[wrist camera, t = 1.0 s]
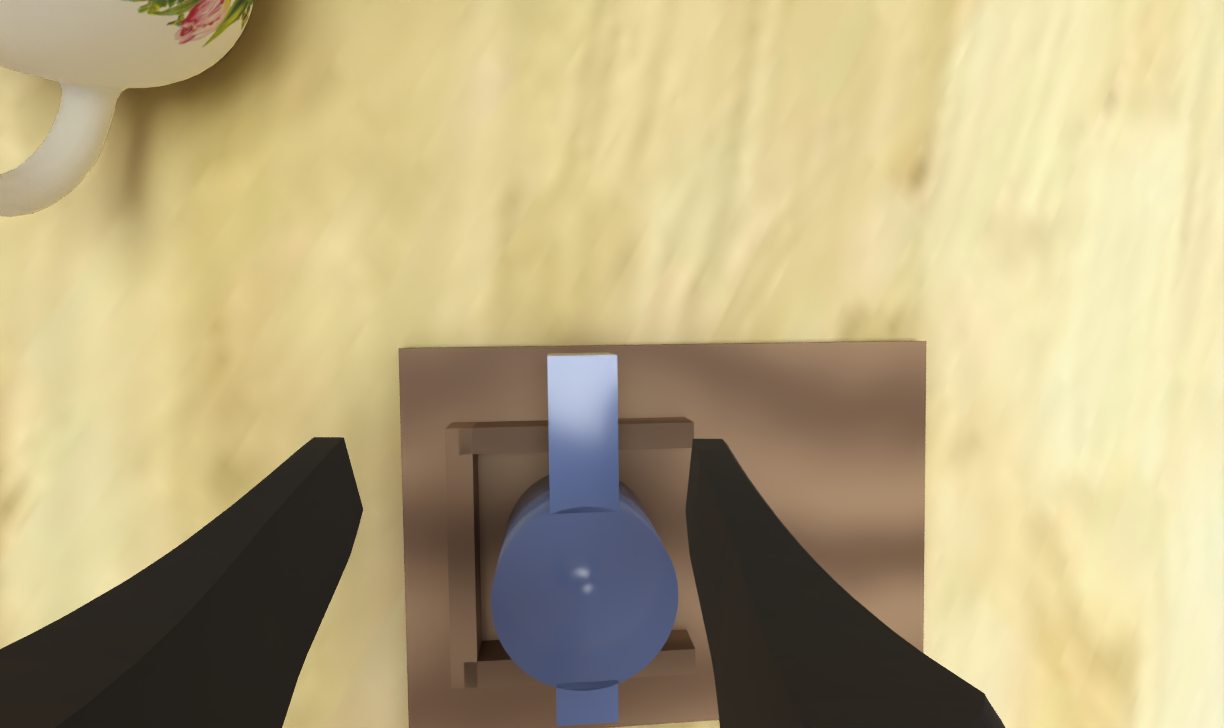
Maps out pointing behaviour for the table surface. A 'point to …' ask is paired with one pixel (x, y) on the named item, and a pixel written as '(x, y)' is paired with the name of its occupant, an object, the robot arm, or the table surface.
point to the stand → (652, 498)
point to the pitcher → (101, 73)
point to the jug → (583, 556)
